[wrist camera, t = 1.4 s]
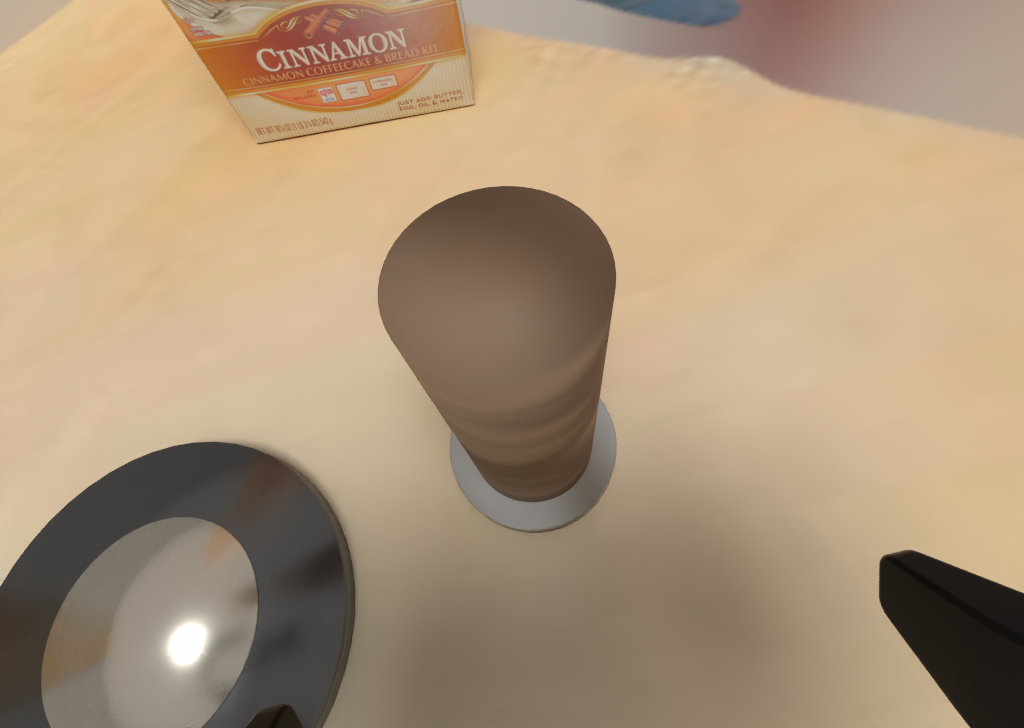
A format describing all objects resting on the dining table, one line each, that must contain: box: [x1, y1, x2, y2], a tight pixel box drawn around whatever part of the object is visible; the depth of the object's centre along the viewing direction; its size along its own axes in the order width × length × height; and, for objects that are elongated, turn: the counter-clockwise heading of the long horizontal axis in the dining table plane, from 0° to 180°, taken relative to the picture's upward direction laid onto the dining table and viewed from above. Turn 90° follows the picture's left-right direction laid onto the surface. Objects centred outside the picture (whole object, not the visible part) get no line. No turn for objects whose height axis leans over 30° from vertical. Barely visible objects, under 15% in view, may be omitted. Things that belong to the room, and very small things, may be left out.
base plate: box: [0, 442, 355, 728], centre depth 20 cm, size 15×15×1 cm
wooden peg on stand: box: [378, 186, 617, 533], centre depth 16 cm, size 7×7×13 cm
